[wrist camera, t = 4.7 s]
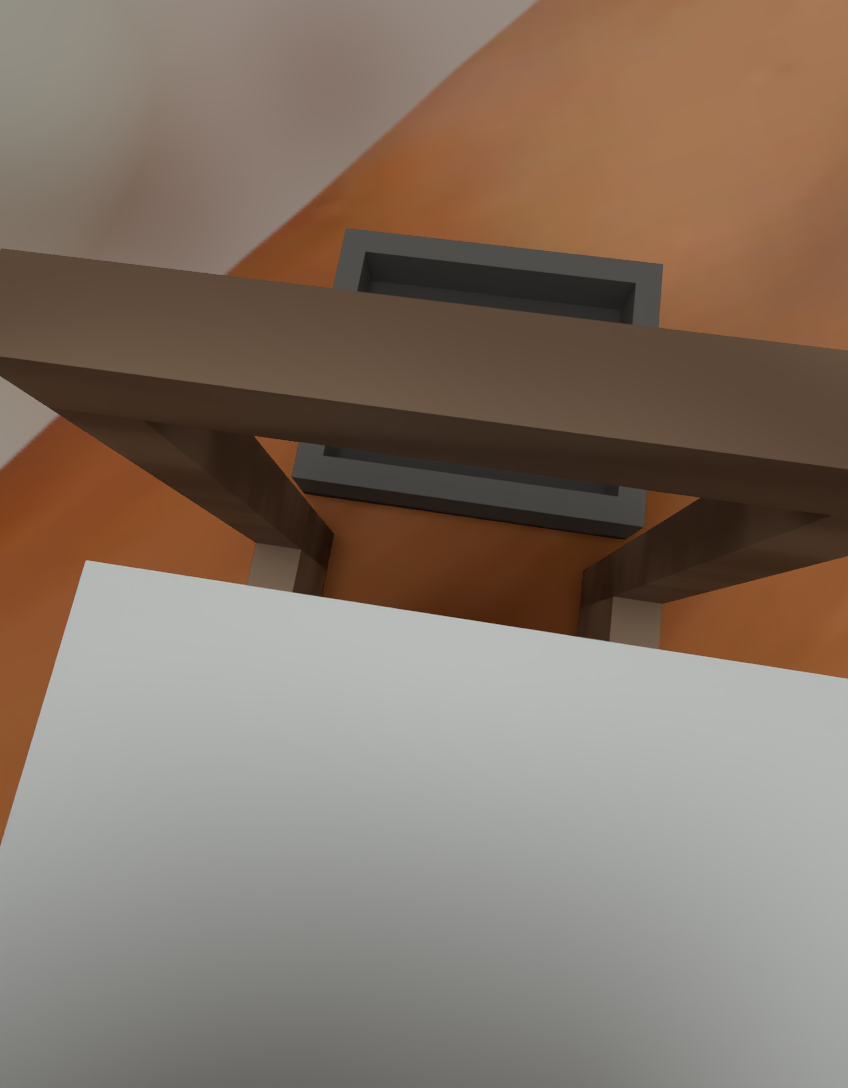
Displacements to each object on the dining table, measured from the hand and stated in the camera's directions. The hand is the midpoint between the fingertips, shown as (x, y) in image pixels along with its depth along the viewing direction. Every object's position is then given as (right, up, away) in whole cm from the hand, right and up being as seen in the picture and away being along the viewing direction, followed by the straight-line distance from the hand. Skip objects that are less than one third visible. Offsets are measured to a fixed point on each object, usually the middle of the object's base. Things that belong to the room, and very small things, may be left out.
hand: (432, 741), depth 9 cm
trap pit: (+2, +10, +14) cm, 17 cm away
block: (0, -3, +6) cm, 7 cm away
